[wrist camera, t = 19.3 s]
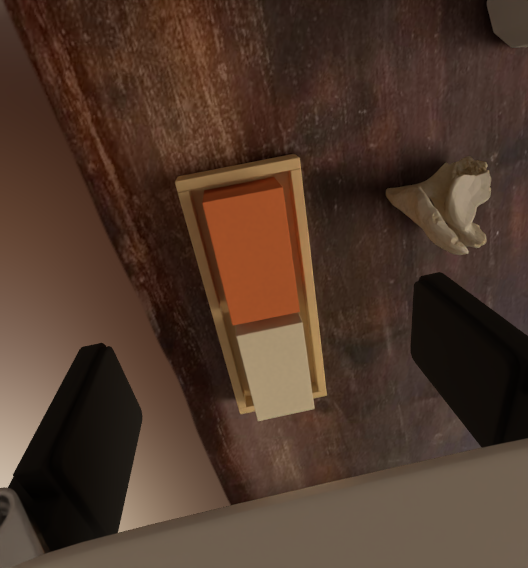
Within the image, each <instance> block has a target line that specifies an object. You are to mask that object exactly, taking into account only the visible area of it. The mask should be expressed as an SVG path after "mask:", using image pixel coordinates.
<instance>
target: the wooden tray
mask: <svg viewBox="0 0 528 568" xmlns="http://www.w3.org/2000/svg"><path fill="white" fill-rule="evenodd" d="M300 168H301V165H300V158H299V157H298V156H296V155H295V154H290V155H285V156H280V157H275V158H270V159H265V160H260V161H255V162H249V163H244V164H239V165H234V166H229V167H224V168H219V169H214V170H209V171H203V172H198V173H193V174H188V175H183V176H178V177H177V179H176V181H175V185H176V189H177V192H178V196H179V199H180V203H181V207H182V210H183V214H184V217H185V221H186V224H187V228H188V231H189V235H190V238H191V242H192V245H193V249H194V253H195V256H196V260H197V263H198V267H199V270H200V274H201V277H202V281H203V284H204V288H205V291H206V295H207V299H208V302H209V306H210V309H211V313H212V316H213V320H214V323H215V327H216V330H217V334H218V337H219V341H220V345H221V348H222V352H223V355H224V359H225V362H226V366H227V369H228V373H229V376H230V380H231V383H232V387H233V391H234V394H235V398H236V401H237V405H238V408H239V412H240V414H244V413H249V412H253V411H255V408H254V404H253V401H252V397H251V393H250V389H249V385H248V381H247V377H246V373H245V369H244V365H243V361H242V357H241V353H240V349H239V345H238V341H237V337H236V327H235V325H234V326H233V325H232V322H231V318H230V314H229V310H228V306H227V302H226V298H225V294H224V290H223V285H222V281H221V277H220V273H219V269H218V265H217V261H216V257H215V253H214V249H213V245H212V241H211V237H210V233H209V229H208V225H207V221H206V217H205V213H204V209H203V205H202V201H203V195H204V190H208V189H213V188H218V187H224V186H229V185H234V184H239V183H244V182H250V181H255V180H260V179H265V178H270V177H275V179H276V180H277V181H278V182H279V183H280V185H281V186H282V187H283V191H284V199H285V206H286V213H287V221H288V228H289V235H290V243H291V250H292V257H293V265H294V272H295V279H296V287H297V294H298V301H299V309H300V312H298V313H299V315H300V318H301V320H302V323H303V330H304V337H305V344H306V351H307V358H308V365H309V373H310V380H311V387H312V394H313V398H318V397H322V396H327V392H326V384H325V375H324V366H323V358H322V349H321V340H320V331H319V322H318V314H317V305H316V296H315V287H314V279H313V270H312V261H311V252H310V244H309V235H308V226H307V217H306V208H305V200H304V191H303V182H302V173H301V169H300Z"/></svg>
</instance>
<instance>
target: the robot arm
mask: <svg viewBox="0 0 528 568" xmlns="http://www.w3.org/2000/svg"><path fill="white" fill-rule="evenodd" d="M411 355H412V358H413V360H414V361H415V363H416V364H417V365H418V367H419V368H420V369H421V370H422V372H423V373H424V374H425V376H426V377H427V378H428V379H429V381H430V382H431V383H432V384H433V386H434V387H435V388H436V390H437V391H438V392H439V393H440V395H441V396H442V397H443V399H444V400H445V401H446V402H447V404H448V405H449V406H450V407H451V409H452V410H453V411H454V413H455V414H456V415H457V416H458V418H459V419H460V420H461V422H462V423H463V424H464V425H465V427H466V428H467V429H468V430H469V432H470V433H471V434H472V436H473V437H474V438H475V439H476V441H477V442H478V443H479V445H480V446H481V447H482V448H478V449H474V450H469V451H465V452H460V453H456V454H451V455H447V456H443V457H438V458H434V459H429V460H425V461H421V462H416V463H412V464H407V465H403V466H399V467H394V468H390V469H385V470H381V471H376V472H372V473H368V474H364V475H359V476H355V477H351V478H346V479H342V480H338V481H333V482H329V483H325V484H320V485H316V486H312V487H307V488H303V489H299V490H295V491H290V492H286V493H282V494H278V495H273V496H269V497H265V498H260V499H256V500H252V501H248V502H243V503H239V504H235V505H231V506H227V507H223V508H218V509H214V510H210V511H206V512H202V513H197V514H193V515H190V516H185V517H181V518H177V519H172V520H168V521H164V522H160V523H155V524H151V525H147V526H144V527H140V528H136V529H132V530H128V531H124V532H120V533H118V529H119V525H120V520H121V515H122V511H123V506H124V501H125V497H126V492H127V488H128V483H129V479H130V474H131V470H132V465H133V460H134V456H135V451H136V446H137V442H138V437H139V432H140V428H141V424H142V411H141V408H140V406H139V404H138V402H137V399H136V398H135V395H134V393H133V391H132V389H131V387H130V385H129V382H128V380H127V378H126V376H125V374H124V372H123V370H122V368H121V365H120V363H119V361H118V359H117V357H116V355H115V353H114V351H113V349H112V347H110V346H108V347H106V345H104V344H103V343H99V344H94V345H90V346H85V347H82V348H81V349H80V350H79V352H78V354H77V356H76V358H75V360H74V361H73V363H72V365H71V367H70V369H69V371H68V372H67V375H66V376H65V378H64V380H63V382H62V384H61V386H60V387H59V389H58V391H57V393H56V395H55V397H54V399H53V401H52V403H51V404H50V406H49V408H48V410H47V412H46V414H45V416H44V417H43V419H42V421H41V423H40V425H39V427H38V429H37V431H36V432H35V434H34V436H33V438H32V440H31V442H30V444H29V446H28V448H27V449H26V451H25V453H24V455H23V457H22V459H21V461H20V463H19V464H18V466H17V468H16V470H15V472H14V474H13V476H14V477H13V479H12V481H11V483H10V485H9V487H8V488H0V568H528V336H527V335H526V334H524V333H523V332H522V331H520V330H519V329H517V328H516V327H515V326H513V325H512V324H511V323H509V322H508V321H507V320H505V319H504V318H503V317H501V316H500V315H499V314H497V313H496V312H494V311H493V310H492V309H490V308H489V307H488V306H486V305H485V304H484V303H482V302H481V301H480V300H478V299H477V298H476V297H474V296H473V295H471V294H470V293H469V292H467V291H466V290H465V289H463V288H462V287H461V286H459V285H458V284H457V283H455V282H454V281H453V280H451V279H450V278H449V277H447V276H446V275H444V274H443V273H441V272H438V273H434V274H429V275H424V276H421V277H420V278H419V281H418V282H416V283H415V284H414V295H413V313H412V332H411Z"/></svg>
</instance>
